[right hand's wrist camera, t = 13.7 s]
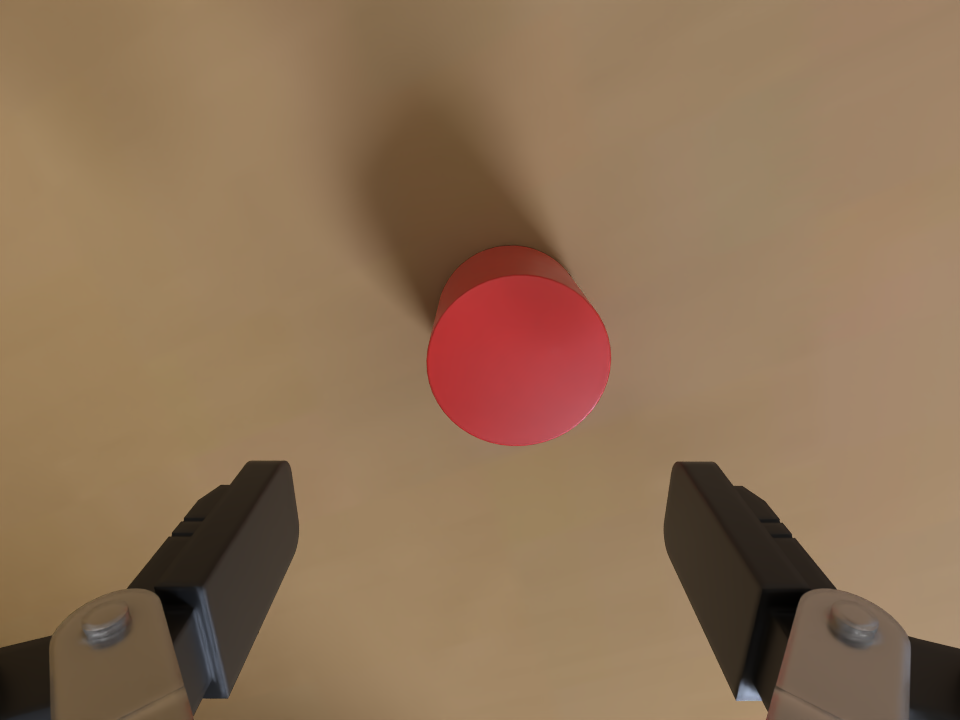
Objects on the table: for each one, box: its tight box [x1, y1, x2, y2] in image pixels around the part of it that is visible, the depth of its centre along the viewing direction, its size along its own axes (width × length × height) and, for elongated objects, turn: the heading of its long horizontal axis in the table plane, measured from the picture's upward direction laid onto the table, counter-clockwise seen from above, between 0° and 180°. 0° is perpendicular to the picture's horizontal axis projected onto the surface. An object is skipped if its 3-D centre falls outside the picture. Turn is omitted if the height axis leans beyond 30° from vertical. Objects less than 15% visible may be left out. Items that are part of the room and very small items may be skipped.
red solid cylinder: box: [427, 246, 611, 446], centre depth 16 cm, size 5×5×4 cm
